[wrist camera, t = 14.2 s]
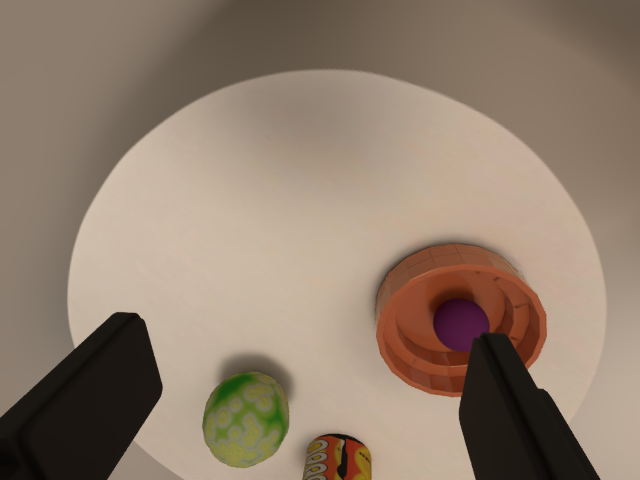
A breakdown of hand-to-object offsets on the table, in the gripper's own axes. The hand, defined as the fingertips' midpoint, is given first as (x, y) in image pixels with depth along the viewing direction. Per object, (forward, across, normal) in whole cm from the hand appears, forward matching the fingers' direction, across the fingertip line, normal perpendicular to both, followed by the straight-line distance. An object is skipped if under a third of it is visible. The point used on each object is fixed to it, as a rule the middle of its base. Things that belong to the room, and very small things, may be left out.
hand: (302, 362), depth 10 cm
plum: (+24, -11, +15) cm, 31 cm away
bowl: (+25, -11, +15) cm, 31 cm away
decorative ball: (+25, +11, +28) cm, 39 cm away
